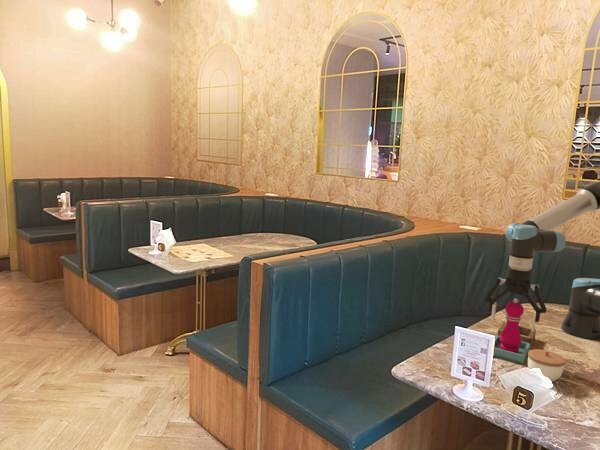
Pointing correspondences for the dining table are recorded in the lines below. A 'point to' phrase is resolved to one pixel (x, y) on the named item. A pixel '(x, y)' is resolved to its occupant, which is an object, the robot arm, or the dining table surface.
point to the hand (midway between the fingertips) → (512, 325)
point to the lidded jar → (546, 363)
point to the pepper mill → (512, 327)
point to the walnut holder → (522, 333)
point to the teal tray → (511, 356)
